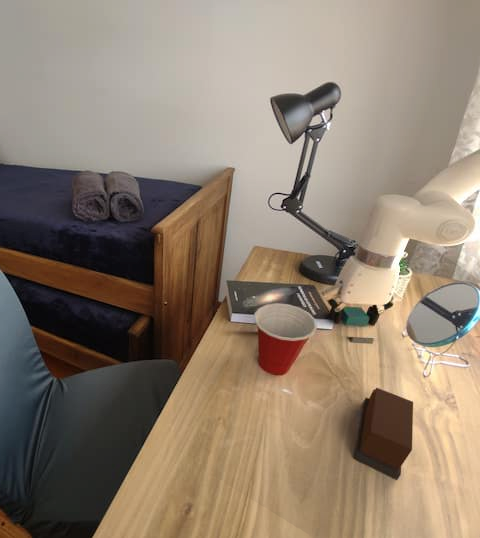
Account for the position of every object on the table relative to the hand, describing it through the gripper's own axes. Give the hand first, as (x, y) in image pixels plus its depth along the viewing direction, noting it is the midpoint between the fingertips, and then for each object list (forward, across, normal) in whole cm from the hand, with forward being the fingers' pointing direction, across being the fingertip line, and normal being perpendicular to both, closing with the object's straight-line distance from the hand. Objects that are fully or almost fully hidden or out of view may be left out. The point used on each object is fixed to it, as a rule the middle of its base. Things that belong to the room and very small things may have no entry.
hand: (350, 322), depth 82 cm
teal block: (+1, 0, +2) cm, 2 cm away
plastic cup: (+1, +21, +14) cm, 26 cm away
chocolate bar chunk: (+1, +8, +30) cm, 31 cm away
